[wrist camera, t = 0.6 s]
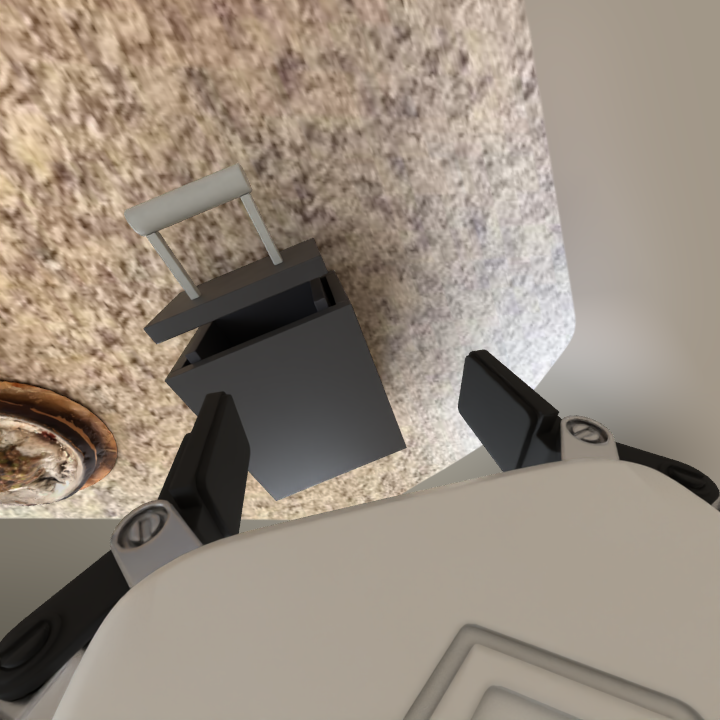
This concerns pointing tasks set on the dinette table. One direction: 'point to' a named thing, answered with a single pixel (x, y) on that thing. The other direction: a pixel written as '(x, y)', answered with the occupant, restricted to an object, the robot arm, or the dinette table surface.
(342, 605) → the robot arm
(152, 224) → the drawer
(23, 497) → the bowl on brown plate
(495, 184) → the dinette table surface
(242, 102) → the dinette table surface
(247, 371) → the grey cabinet housing
